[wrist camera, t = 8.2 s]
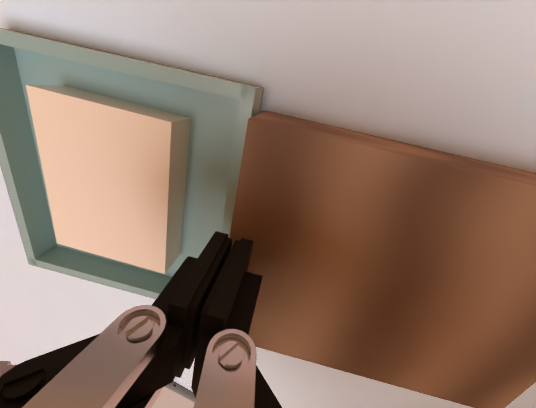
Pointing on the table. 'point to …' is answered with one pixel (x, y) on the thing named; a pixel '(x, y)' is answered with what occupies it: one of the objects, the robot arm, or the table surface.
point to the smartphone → (175, 397)
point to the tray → (134, 91)
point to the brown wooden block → (390, 259)
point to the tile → (112, 174)
